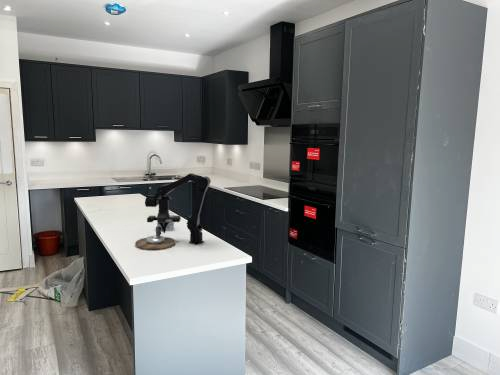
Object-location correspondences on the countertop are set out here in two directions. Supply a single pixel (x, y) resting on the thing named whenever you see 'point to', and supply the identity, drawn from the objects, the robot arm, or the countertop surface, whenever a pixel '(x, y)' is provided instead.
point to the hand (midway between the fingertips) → (164, 233)
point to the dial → (156, 237)
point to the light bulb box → (170, 225)
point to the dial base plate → (146, 246)
